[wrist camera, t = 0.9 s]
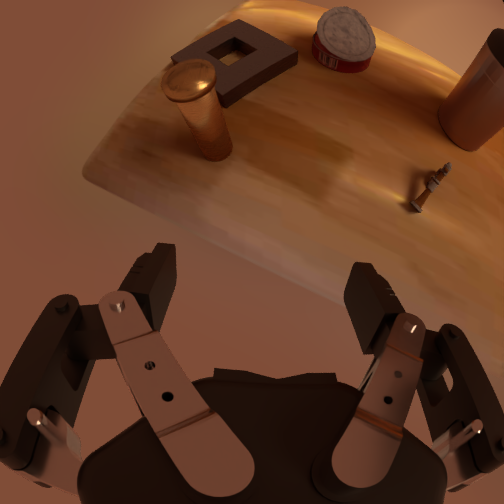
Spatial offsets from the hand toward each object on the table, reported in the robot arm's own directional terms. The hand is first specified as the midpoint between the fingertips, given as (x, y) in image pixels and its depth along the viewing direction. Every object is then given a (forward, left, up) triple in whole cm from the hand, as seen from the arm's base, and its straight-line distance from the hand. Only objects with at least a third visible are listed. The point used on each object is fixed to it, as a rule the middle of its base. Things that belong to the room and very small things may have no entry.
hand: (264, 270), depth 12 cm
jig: (-18, -29, -19) cm, 39 cm away
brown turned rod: (-23, +4, -20) cm, 31 cm away
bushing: (-6, -18, -19) cm, 27 cm away
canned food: (-33, -20, -20) cm, 43 cm away
